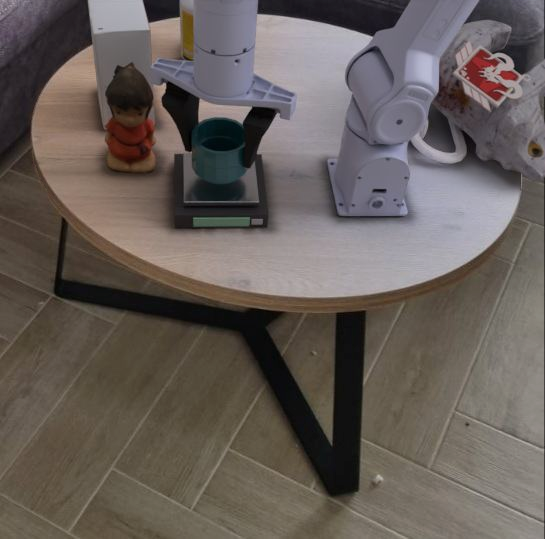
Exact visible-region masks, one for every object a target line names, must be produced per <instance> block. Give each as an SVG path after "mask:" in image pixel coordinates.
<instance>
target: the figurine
mask: <svg viewBox="0 0 545 539" xmlns="http://www.w3.org/2000/svg"><path fill="white" fill-rule="evenodd" d="M114 74H115V75H114V76H113V80H112V81H111V83H110V84H109V85H108V87H107V90H106V92H105V96H106V97H107V100H106V101H107V104H108V106H109V107H110V110H111V113H112V117H111V119H110V120H109V122H108V123H107V124H106V125H105V127H106V129H107V130H106V131H107V132H106V134H105V136H104V142H105V143H106V145H107V148H108V155H107V156H106V159H105V160H106V164H107V166H108V168H110V170H113V171H117V172H125V173H135V174H137V173H138V174H147V173H152V172H154V170H155V169H156V166H157V165H158V161H157V160H156V156H155V153H154V152H153V150H152V148H153V147H154V146H155V145H156V143H157V138H156V137H155V135H154V133H155V132H156V130H155V129H156V128H155V125H153V121H151V120H150V119H149V118H148V115H149V113H150V111H151V109H152V107H153V106H154V107H155V101H154V102H153V98H154V99H155V96H153V95H154V90H153V91H152V89H151V87H150V85H149V83H148V82H147V80H146V78H145V77H144V75H143V74H142V73H141V72H139V71H138V70H137V69H136V68H135V67H134V64H133V62H131V63H129V64H128V65H127V66H125V67H121V66H119V65H117V67H116V69H115V71H114Z"/></svg>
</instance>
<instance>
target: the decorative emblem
mask: <svg viewBox="0 0 545 539" xmlns="http://www.w3.org/2000/svg"><path fill="white" fill-rule="evenodd" d="M500 58H502V59H503V60H505V62H504V61H503V60H501V59H500ZM455 59H456V63H457V66H458V68H457V69H456V70H455V71H454V72H453V73H452V75H453V76H455V77H456V78H457V79H459V80H460V81H461V82H462V85H463V89H464V92H465V94H466V95H468V96H469V97H470V98H472V99H473V100H474V101H476V102H477V103H479V104H480V105H482V107H483V108H485V109H486V110H487V111H489V112H490V113H491V109H490V106H489V102H490V103H491V104H492V105H494V106H495V107H496V108H498V107H499V105H500V104H501V103H502V102H503V101H504V100H505V98H506V97H509V98H512V99H517V98H519V97H520V96H522V93H523V91H522V88H521V86H520V85H519V84H518V83H519V82H520V81H521V80H522V79H523V80H524V81H526V82H528V81H530V77H529V76H528V75H526V74H525V73H523V74H524V75H523V74H520V73H519V72H518V71H516V70H515V69H514V68H515V63H514V60H513V59H512V58H511V57H510V56H509V55H507V54H505V53H502V52H496V53H494V54H493V52H492V53H490V52H489V51H487V50H486V49H485V48H483V47H482V46H481V45H479V46H478V47H477V48H476V49H475V50H474V51H473V47H472V44H471V40H470V41H469V42H468V43H467V44H466V45H465V46H464V47H463V48H462V49H461V50H460V51H459V52H458V53H457V54H456V55H455ZM524 76H526V77H527V78H528V80H526V79H524ZM513 89H515V93H514V94H510V93H511V92H512V90H513Z"/></svg>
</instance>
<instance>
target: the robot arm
mask: <svg viewBox="0 0 545 539" xmlns="http://www.w3.org/2000/svg"><path fill="white" fill-rule="evenodd" d="M479 2H480V0H409V2H408V4H407V6H406V7H405V9H404V11H403V12H402V14H401V15H400V17H399V19H398V20H397V22H396V24H395V25H394V26H393V27H391V28H385V29H381V30H378V31H376V32H375V33H374V35H373V37H372V39H371V40H370V41H369V43H368V44H367V45H366V46H365V47H364V48H362V49H361V50H360V51H358V52H357V53H355V55H353V57H352V58H351V59H350V60H349V62H348V64H347V65H346V68H345V71H344V81H345V83H346V87H347V88H348V90H349V91H350V92H351V97H350V102H349V106H348V107H347V110H346V114H345V119H344V123H343V124H344V126H343V129H342V136H341V140H340V146H339V151H338V157H337V158H334V157H333V158H328V159H327V160H326V166H327V169H328V174H329V179H330V184H331V188H332V193H333V194H332V195H333V198H334V203H335V209H336V214H337V215H338V216H340V217H405V216H407V215H408V212H409V211H408V207H407V204H406V203H407V202H406V200H405V196H406V191H407V189H408V185H409V180H410V177H411V168H410V164H409V160H408V145H409V143H410V141H411V140H410V138H412V137H414V136H415V135H416V134H417V133H418V132H419V131H420V130H421V129H422V128H423V126H424V125H425V123H426V120H427V118H428V117H429V112H430V107H431V105H432V101H433V99H434V98H435V96H436V95H437V94H438V90H439V61H440V57H441V56H442V55H443V53H444V52H445V50H446V49H447V47H448V46H449V44H450V43H451V41H452V40H453V38H454V37H455V35H456V34H457V33H458V31H459V30H460V28H461V27H462V25H463V24H465V23H466V21H467V19H468V18H469V17H470V15H471V13H472V12H473V11H474V9H475V7H477V5H478V4H479ZM258 7H259V0H193V37H194V61H184V60H183V59H182V60H181V59H180V60H179V59H178V60H177V59H169V58H164V57H157V58H156V59H155V61H154V62H152V66H151V67H150V73H151V84H153V86H154V85H155V86H160V87H161V86H162V85H163V84H165V89H164V90H165V91H164V93H163V95H162V96H161V101H160V102H161V106H162V108H163V109H164V110H166V112H167V113H168V114H169V116H170V118H171V119H172V121H173V123H174V124H175V126H176V129H177V131H178V133H179V136H180V139H181V141H182V144H183V148H184V151H185V152H187V153H192V130H193V128H194V127H195V125H196V124H198V123H199V122H200V120H199V111H200V110H199V109H200V101H204V102H206V103H209V104H211V105H217V106H231V107H250V110H249V111H248V113H247V115H246V116H245V117H244V119H243V121H242V124H243V129H244V136H245V150H244V158H243V166H244V167H245V168H251V166H252V164H253V162H254V161H255V159H256V155H257V154H258V151H259V149H260V148H259V147H260V144H261V142H262V141H263V140H262V139H263V137H264V136H265V135H266V133H267V132H268V130H269V128H270V127H271V125H272V123H273V122H274V120H275V118H276V116H277V115H278V114H279V118H280V119H282V120H287V121H291V119H292V117H293V115H294V113H295V112H296V107H297V100H298V99H297V98H298V93H297V92H294V91H292V90H291V91H290V90H287V89H285V88H283V87H281V86H278V85H277V84H275V83H273V82H271V81H270V80H268V79H266V78H264V77H263V76H260V75H258V74H256V73H254V70H255V69H254V68H255V57H256V56H255V53H256V38H257V24H258V10H259V8H258ZM428 119H429V118H428Z"/></svg>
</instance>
